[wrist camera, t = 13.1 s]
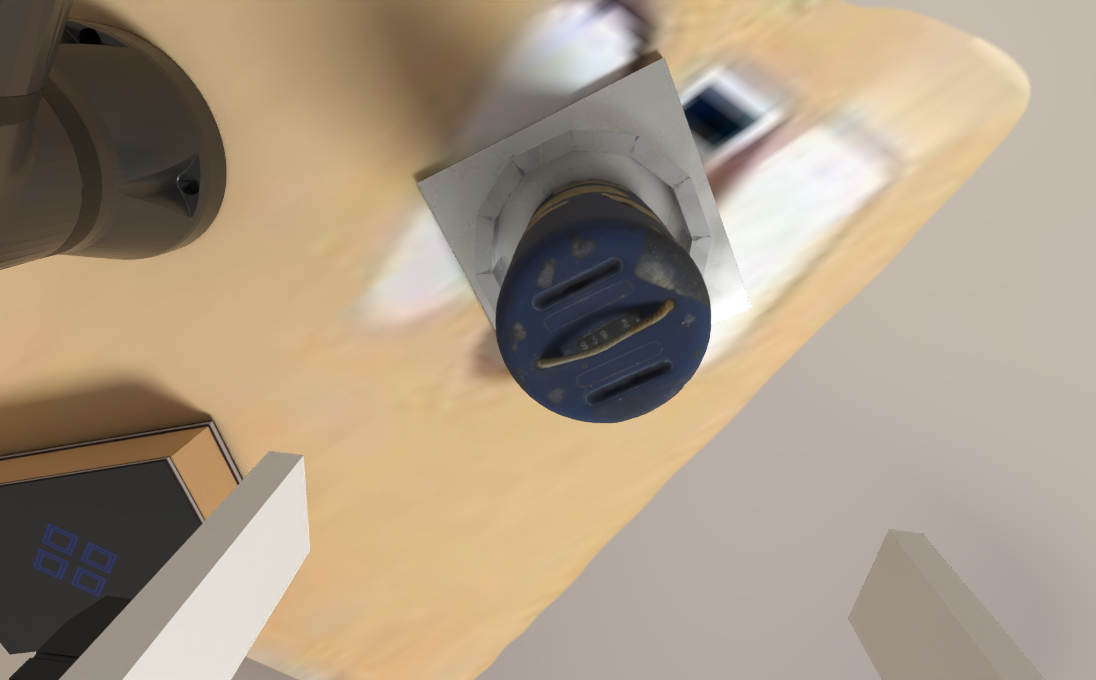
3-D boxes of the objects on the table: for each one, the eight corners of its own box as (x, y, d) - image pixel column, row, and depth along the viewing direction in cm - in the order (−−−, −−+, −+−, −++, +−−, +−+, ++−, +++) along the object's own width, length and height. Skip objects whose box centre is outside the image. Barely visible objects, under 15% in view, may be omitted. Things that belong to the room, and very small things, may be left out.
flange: (419, 182, 38) (405, 187, 35) (663, 57, 34) (670, 52, 31) (531, 392, 43) (527, 411, 40) (749, 305, 40) (763, 319, 37)
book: (294, 567, 52) (257, 627, 46) (72, 596, 56) (9, 655, 49) (219, 415, 46) (164, 460, 40) (-27, 456, 49) (-113, 504, 43)
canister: (510, 194, 37) (454, 255, 20) (647, 161, 36) (708, 196, 19) (542, 322, 40) (517, 463, 24) (669, 296, 39) (736, 425, 22)
